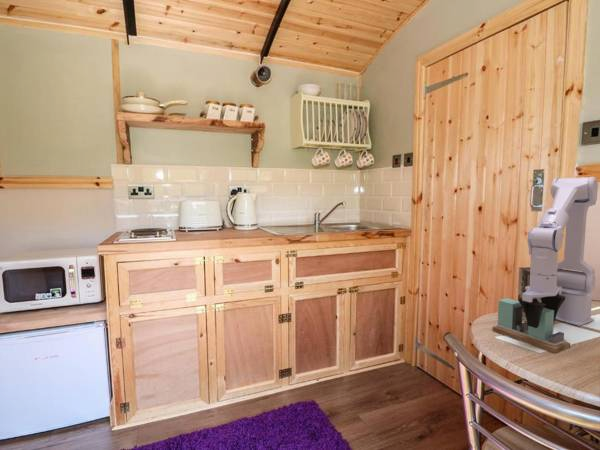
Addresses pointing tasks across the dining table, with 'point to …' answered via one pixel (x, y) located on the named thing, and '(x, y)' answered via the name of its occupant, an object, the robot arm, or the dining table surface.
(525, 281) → the coffee box
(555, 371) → the dining table surface
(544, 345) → the rail
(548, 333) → the teal rectangular block
